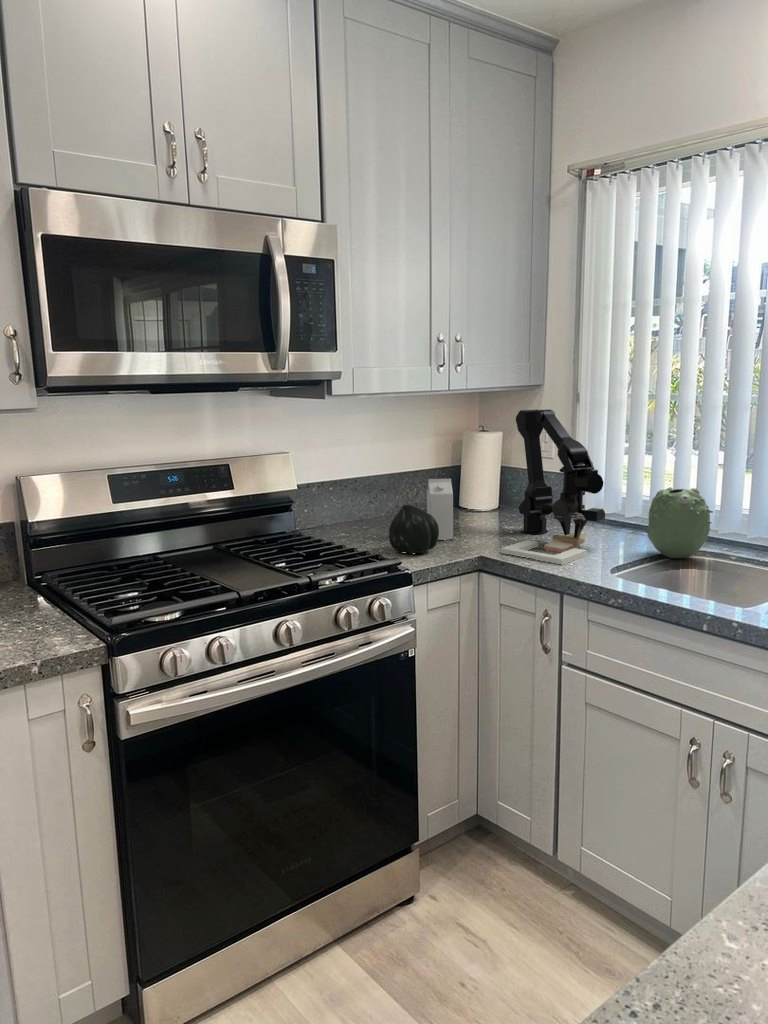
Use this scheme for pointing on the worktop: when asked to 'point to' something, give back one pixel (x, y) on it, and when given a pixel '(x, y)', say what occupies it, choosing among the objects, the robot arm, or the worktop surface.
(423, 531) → the squash
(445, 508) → the milk carton
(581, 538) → the wooden pusher
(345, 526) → the worktop surface
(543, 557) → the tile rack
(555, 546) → the pale beige block
